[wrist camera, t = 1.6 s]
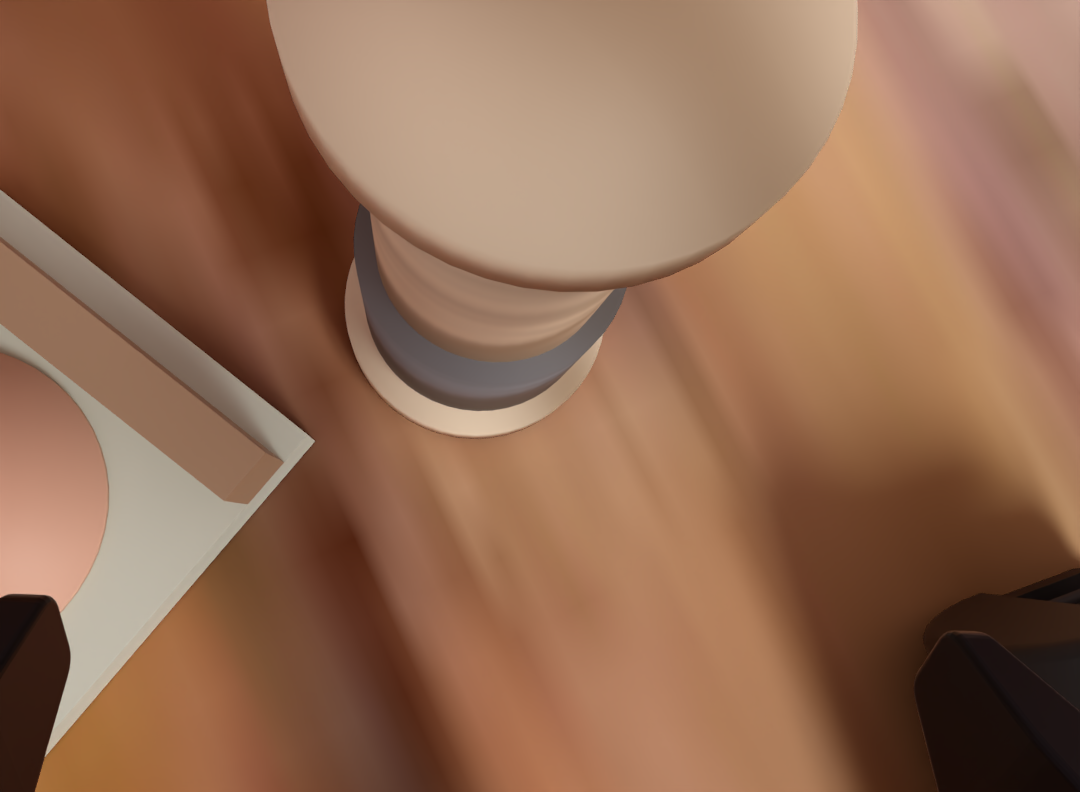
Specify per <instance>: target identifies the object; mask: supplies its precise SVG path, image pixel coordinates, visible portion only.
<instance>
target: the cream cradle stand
mask: <svg viewBox="0 0 1080 792" xmlns="http://www.w3.org/2000/svg"><path fill="white" fill-rule="evenodd" d="M314 442H315V441H314V440H313V439H312V438H311V437H310V436H309V435H308V434H306V433H305V432H304V431H303V430H301V429H300V428H299V427H297V426H296V425H295V424H294V423H292V422H291V421H290V420H289V419H287V418H286V417H285V416H284V415H282V414H281V413H280V412H279V411H277V410H276V409H275V408H274V407H272V406H271V405H270V404H269V403H267V402H266V401H265V400H264V399H262V398H261V397H260V396H259V395H257V394H256V393H255V392H254V391H252V390H251V389H250V388H249V387H247V386H246V385H245V384H244V383H242V382H241V381H240V380H239V379H237V378H236V377H235V376H233V375H232V374H231V373H230V372H228V371H227V370H226V369H225V368H223V367H222V366H221V365H220V364H218V363H217V362H216V361H215V360H213V359H212V358H211V357H210V356H208V355H207V354H206V353H205V352H203V351H202V350H201V349H200V348H198V347H197V346H196V345H195V344H193V343H192V342H191V341H190V340H188V339H187V338H186V337H185V336H183V335H182V334H181V333H180V332H178V331H177V330H176V329H175V328H173V327H172V326H171V325H169V324H168V323H167V322H166V321H164V320H163V319H162V318H161V317H159V316H158V315H157V314H156V313H154V312H153V311H152V310H151V309H149V308H148V307H147V306H146V305H144V304H143V303H142V302H141V301H139V300H138V299H137V298H136V297H134V296H133V295H132V294H131V293H129V292H128V291H127V290H126V289H124V288H123V287H122V286H121V285H119V284H118V283H117V282H116V281H114V280H113V279H112V278H111V277H109V276H108V275H107V274H105V273H104V272H103V271H102V270H100V269H99V268H98V267H97V266H95V265H94V264H93V263H92V262H90V261H89V260H88V259H87V258H85V257H84V256H83V255H82V254H80V253H79V252H78V251H77V250H75V249H74V248H73V247H72V246H70V245H69V244H68V243H67V242H65V241H64V240H63V239H62V238H60V237H59V236H58V235H57V234H55V233H54V232H53V231H52V230H50V229H49V228H48V227H47V226H45V225H44V224H43V223H41V222H40V221H39V220H38V219H36V218H35V217H34V216H33V215H31V214H30V213H29V212H28V211H26V210H25V209H24V208H23V207H21V206H20V205H19V204H18V203H16V202H15V201H14V200H13V199H11V198H10V197H9V196H8V195H6V194H5V193H4V192H3V191H1V190H0V598H1V597H3V596H5V595H8V594H37V595H48V596H51V597H52V598H53V599H54V600H55V601H56V602H57V605H58V607H59V611H60V614H61V618H62V621H63V625H64V629H65V632H66V636H67V639H68V643H69V646H70V652H71V662H70V669H69V674H68V678H67V681H66V685H65V688H64V692H63V695H62V699H61V702H60V706H59V709H58V713H57V716H56V720H55V723H54V726H53V730H52V733H51V737H50V740H49V744H48V747H47V751H46V754H45V756H46V755H47V754H48V753H49V752H50V750H51V749H52V748H53V747H54V746H55V745H56V743H57V742H58V741H59V740H60V739H61V738H62V736H63V735H64V734H65V733H66V732H67V731H68V729H69V728H70V727H71V726H72V725H73V724H74V722H75V721H76V720H77V719H78V718H79V717H80V715H81V714H82V713H83V712H84V711H85V709H86V708H87V707H88V706H89V705H90V704H91V702H92V701H93V700H94V699H95V698H96V697H97V695H98V694H99V693H100V692H101V691H102V690H103V688H104V687H105V686H106V685H107V684H108V683H109V681H110V680H111V679H112V678H113V677H114V676H115V674H116V673H117V672H118V671H119V670H120V669H121V667H122V666H123V665H124V664H125V663H126V662H127V660H128V659H129V658H130V657H131V656H132V655H133V653H134V652H135V651H136V650H137V649H138V648H139V646H140V645H141V644H142V643H143V642H144V641H145V639H146V638H147V637H148V636H149V635H150V634H151V632H152V631H153V630H154V629H155V628H156V627H157V625H158V624H159V623H160V622H161V621H162V620H163V618H164V617H165V616H166V615H167V614H168V613H169V611H170V610H171V609H172V608H173V607H174V606H175V604H176V603H177V602H178V601H179V600H180V599H181V597H182V596H183V595H184V594H185V593H186V592H187V590H188V589H189V588H190V587H191V586H192V584H193V583H194V582H195V581H196V580H197V579H198V577H199V576H200V575H201V574H202V573H203V572H204V570H205V569H206V568H207V567H208V566H209V565H210V563H211V562H212V561H213V560H214V559H215V558H216V556H217V555H218V554H219V553H220V552H221V551H222V549H223V548H224V547H225V546H226V545H227V544H228V542H229V541H230V540H231V539H232V538H233V537H234V535H235V534H236V533H237V532H238V531H239V530H240V528H241V527H242V526H243V525H244V524H245V523H246V521H247V520H248V519H249V518H250V517H251V516H252V514H253V513H254V512H255V511H256V510H257V509H258V507H259V506H260V505H261V504H262V503H263V502H264V500H265V499H266V498H267V497H268V496H269V495H270V493H271V492H272V491H273V490H274V489H275V488H276V486H277V485H278V484H279V483H280V482H281V481H282V479H283V478H284V477H285V476H286V475H287V474H288V472H289V471H290V470H291V469H292V468H293V467H294V465H295V464H296V463H297V462H298V461H299V459H300V458H301V457H302V456H303V455H304V454H305V452H306V451H307V450H308V449H309V448H310V447H311V445H312V444H313V443H314Z"/></svg>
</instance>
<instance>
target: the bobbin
mask: <svg viewBox="0 0 1080 792" xmlns="http://www.w3.org/2000/svg"><path fill="white" fill-rule="evenodd" d="M266 1H267V7H268V14H269V20H270V25H271V28H272V32H273V36H274V39H275V43H276V46H277V50H278V53H279V57H280V60H281V64H282V68H283V71H284V74H285V77H286V81H287V84H288V87H289V90H290V94H291V97H292V100H293V103H294V105H295V107H296V110H297V112H298V114H299V116H300V118H301V120H302V122H303V125H304V127H305V129H306V131H307V133H308V135H309V137H310V139H311V140H312V142H313V143H314V145H315V147H316V148H317V150H318V151H319V153H320V154H321V156H322V157H323V159H324V161H325V162H326V164H327V165H328V167H329V168H330V170H331V171H332V172H333V173H334V174H335V175H336V177H337V178H338V179H339V180H340V181H341V183H342V184H343V185H344V186H345V187H346V188H347V190H348V191H349V192H350V193H351V194H352V196H353V197H354V198H355V199H356V200H357V201H358V202H359V203H360V206H359V209H358V213H357V217H356V222H355V231H354V259H353V262H352V264H351V267H350V271H349V275H348V279H347V284H346V292H345V318H346V324H347V330H348V334H349V338H350V341H351V344H352V348H353V351H354V354H355V357H356V359H357V361H358V363H359V366H360V368H361V370H362V372H363V374H364V375H365V377H366V378H367V380H368V382H369V383H370V385H371V386H372V387H373V389H374V390H375V391H376V392H377V393H378V395H379V396H380V397H381V398H382V399H383V400H384V401H385V402H386V403H387V404H388V405H389V406H390V407H391V408H393V409H394V410H395V411H396V412H398V413H399V414H400V415H402V416H403V417H405V418H406V419H408V420H409V421H411V422H413V423H415V424H417V425H419V426H421V427H423V428H425V429H428V430H431V431H433V432H436V433H439V434H443V435H448V436H452V437H458V438H469V439H479V438H492V437H498V436H504V435H508V434H511V433H514V432H517V431H520V430H523V429H525V428H527V427H529V426H531V425H533V424H536V423H537V422H539V421H540V420H542V419H543V418H545V417H547V416H548V415H550V414H551V413H552V412H553V411H554V410H556V409H557V408H558V407H559V406H560V405H562V404H563V403H564V402H565V401H566V400H567V399H569V397H570V396H571V395H572V394H573V393H574V392H575V391H576V390H577V389H578V387H579V386H580V385H581V383H582V382H583V380H584V379H585V378H586V376H587V375H588V373H589V371H590V369H591V367H592V365H593V363H594V361H595V359H596V357H597V354H598V351H599V348H600V345H601V341H602V336H603V333H604V332H605V331H606V329H607V328H608V326H609V325H610V323H611V322H612V320H613V319H614V317H615V315H616V313H617V311H618V309H619V307H620V305H621V303H622V300H623V297H624V294H625V291H626V288H627V287H632V286H636V285H640V284H643V283H647V282H650V281H654V280H657V279H661V278H664V277H667V276H670V275H672V274H674V273H677V272H679V271H681V270H683V269H686V268H688V267H690V266H692V265H695V264H697V263H699V262H701V261H702V260H704V259H706V258H707V257H709V256H710V255H712V254H714V253H715V252H717V251H718V250H720V249H722V248H723V247H725V246H727V245H728V244H729V243H731V242H732V241H733V240H734V239H735V238H736V237H738V236H739V235H740V234H741V233H742V232H744V231H745V230H746V229H747V228H748V227H750V226H751V225H752V224H753V223H754V222H755V221H757V220H758V219H759V218H760V217H761V216H762V215H763V214H764V213H766V212H767V211H768V210H769V209H770V208H771V207H772V206H773V205H775V204H776V203H777V202H778V201H779V200H780V199H781V198H782V197H784V196H785V195H786V194H787V192H788V191H789V190H790V189H791V188H792V187H793V186H794V185H795V183H796V182H797V181H798V180H799V179H800V178H801V177H802V176H803V174H804V173H805V172H806V171H807V170H808V169H809V167H810V166H811V164H812V163H813V161H814V160H815V158H816V157H817V155H818V154H819V152H820V151H821V149H822V148H823V146H824V145H825V143H826V141H827V140H828V138H829V136H830V134H831V131H832V129H833V127H834V125H835V123H836V121H837V119H838V116H839V114H840V112H841V110H842V108H843V104H844V101H845V98H846V94H847V91H848V88H849V84H850V81H851V78H852V73H853V66H854V60H855V53H856V47H857V26H858V5H857V0H266Z"/></svg>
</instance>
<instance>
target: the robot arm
mask: <svg viewBox="0 0 1080 792" xmlns="http://www.w3.org/2000/svg"><path fill="white" fill-rule="evenodd" d="M70 662H71V652H70V646H69V643H68V639H67V636H66V632H65V629H64V625H63V621H62V618H61V614H60V611H59V607H58V605H57V602H56V601H55V600H54V599H53V598H52V597H51V596H48V595H37V594H8V595H5V596H3V597H1V598H0V792H35V789H36V785H37V782H38V779H39V775H40V772H41V768H42V765H43V761H44V758H45V754H46V751H47V747H48V744H49V740H50V737H51V733H52V730H53V726H54V723H55V720H56V716H57V713H58V709H59V706H60V702H61V699H62V695H63V692H64V688H65V685H66V681H67V678H68V674H69V669H70ZM914 698H915V703H916V707H917V711H918V715H919V719H920V723H921V727H922V731H923V735H924V739H925V743H926V746H927V750H928V754H929V758H930V762H931V766H932V770H933V774H934V778H935V782H936V786H937V790H938V792H1080V711H1079V710H1078V709H1077V708H1076V707H1074V706H1073V705H1072V704H1071V703H1070V702H1068V701H1067V700H1066V699H1065V698H1064V697H1062V696H1061V695H1060V694H1059V693H1058V692H1057V691H1055V690H1054V689H1053V688H1052V687H1051V686H1049V685H1048V684H1047V683H1046V682H1045V681H1044V680H1042V679H1041V678H1040V677H1039V676H1038V675H1036V674H1035V673H1034V672H1033V671H1032V670H1030V669H1029V668H1028V667H1027V666H1026V665H1025V664H1023V663H1022V662H1021V661H1020V660H1019V659H1017V658H1016V657H1015V656H1014V655H1013V654H1011V653H1010V652H1009V651H1008V650H1007V649H1006V648H1004V647H1003V646H1002V645H1001V644H1000V643H998V642H997V641H996V640H995V639H994V638H992V637H991V636H989V635H987V634H985V633H982V632H977V631H955V630H953V631H948V632H946V633H944V634H943V635H942V636H941V637H940V638H939V640H938V641H937V643H936V644H935V646H934V648H933V649H932V651H931V652H930V654H929V655H928V657H927V658H926V660H925V661H924V663H923V664H922V666H921V668H920V669H919V671H918V672H917V674H916V677H915V680H914Z"/></svg>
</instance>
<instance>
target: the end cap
mask: <svg viewBox="0 0 1080 792" xmlns="http://www.w3.org/2000/svg"><path fill="white" fill-rule="evenodd" d="M953 630H955V631H977V632H982V633H985V634H987V635H989V636H991V637H992V638H994V639H995V640H996V641H997V642H998V643H1000V644H1001V645H1002V646H1003V647H1004V648H1006V649H1007V650H1008V651H1009V652H1010V653H1011V654H1013V655H1014V656H1015V657H1016V658H1017V659H1019V660H1020V661H1021V662H1022V663H1023V664H1025V665H1026V666H1027V667H1028V668H1029V669H1030V670H1032V671H1033V672H1034V673H1035V674H1036V675H1038V676H1039V677H1040V678H1041V679H1042V680H1044V681H1045V682H1046V683H1047V684H1048V685H1049V686H1051V687H1052V688H1053V689H1054V690H1055V691H1057V692H1058V693H1059V694H1060V695H1061V696H1062V697H1064V698H1065V699H1066V700H1067V701H1068V702H1070V703H1071V704H1072V705H1073V706H1074V707H1076V708H1077V709H1078V710H1079V711H1080V568H1077V569H1072V570H1070V571H1067V572H1064V573H1062V574H1059V575H1056V576H1053V577H1051V578H1048V579H1045V580H1043V581H1040V582H1037V583H1035V584H1032V585H1029V586H1027V587H1024V588H1021V589H1018V590H1016V591H1013V592H1010V593H1008V594H1005V595H1002V596H1001V595H992V594H984V593H980V594H977V595H975V596H972V597H970V598H967V599H965V600H962V601H960V602H958V603H957V604H955V605H953V606H951V607H949V608H947V609H946V610H944V611H943V612H941V613H940V614H939V615H937V616H936V617H934V619H933V620H932V621H931V622H930V623H929V624H928V625H927V627H926V630H925V633H924V637H923V641H924V645H925V648H926V651H927V653H928V655H929V654H930V652H931V651H932V649H933V648H934V646H935V644H936V643H937V641H938V640H939V638H940V637H941V636H942V635H943V634H944V633H946V632H948V631H953Z"/></svg>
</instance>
